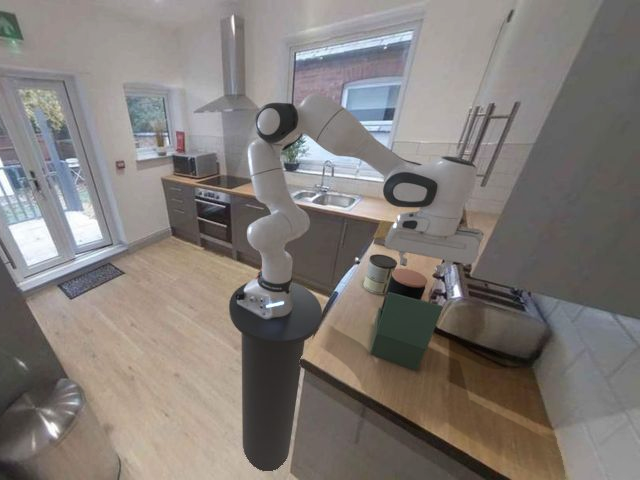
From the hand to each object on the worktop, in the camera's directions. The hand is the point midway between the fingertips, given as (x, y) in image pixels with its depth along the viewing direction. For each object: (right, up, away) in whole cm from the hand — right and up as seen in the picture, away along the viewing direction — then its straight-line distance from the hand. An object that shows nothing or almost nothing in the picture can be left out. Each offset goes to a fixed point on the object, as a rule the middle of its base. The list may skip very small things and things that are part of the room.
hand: (419, 268), depth 72 cm
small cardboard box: (+44, +11, +90) cm, 101 cm away
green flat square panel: (-3, -15, +1) cm, 15 cm away
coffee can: (+10, -13, +41) cm, 45 cm away
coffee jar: (+9, -21, +25) cm, 34 cm away
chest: (0, -27, +12) cm, 30 cm away
